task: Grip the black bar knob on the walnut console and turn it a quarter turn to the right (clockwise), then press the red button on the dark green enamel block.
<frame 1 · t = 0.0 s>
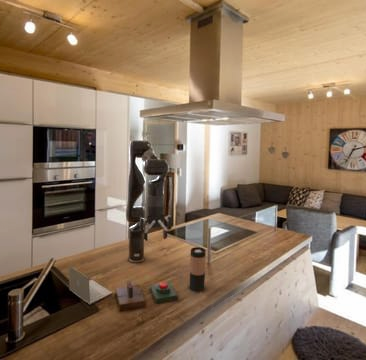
hand: (155, 239, 126), 29 cm above the counter, tool pointing down, fingers open, 8 cm apart
travel mug: (196, 288, 142), on the counter
button block: (163, 294, 135), on the counter
red button: (163, 285, 134), point 4 cm above the counter, slide at 0.1 cm
console: (129, 300, 130), on the counter
grip knob: (129, 289, 129), point 5 cm above the counter, hinge at 0.0°
laptop: (90, 292, 136), on the counter
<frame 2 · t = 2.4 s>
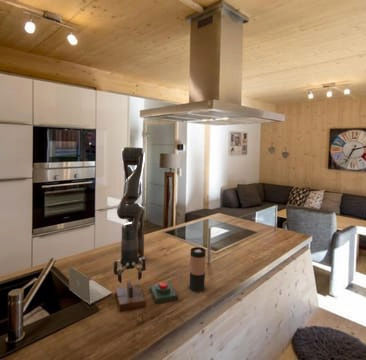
hand: (129, 280, 128), 10 cm above the counter, tool pointing down, fingers open, 8 cm apart
nothing on the counter moved.
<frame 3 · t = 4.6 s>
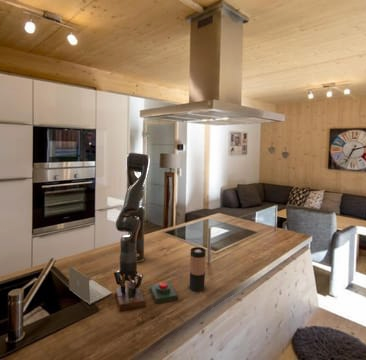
hand: (128, 294, 129), 3 cm above the counter, tool pointing down, fingers open, 4 cm apart
grip knob: (129, 289, 129), point 5 cm above the counter, hinge at -2.3°, touching gripper
everything else where it was.
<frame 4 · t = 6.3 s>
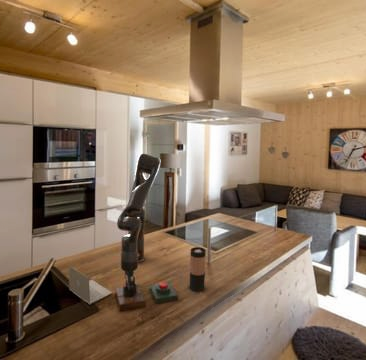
hand: (129, 291, 129), 4 cm above the counter, tool pointing down, fingers open, 8 cm apart
grip knob: (129, 289, 129), point 5 cm above the counter, hinge at -77.0°
everything else where it was.
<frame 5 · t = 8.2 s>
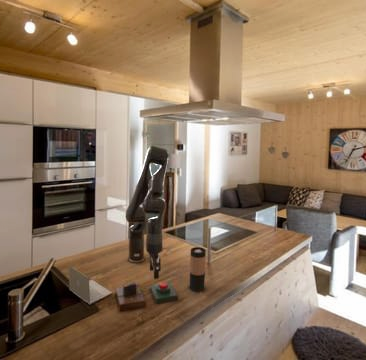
hand: (154, 274, 132), 11 cm above the counter, tool pointing down, fingers open, 8 cm apart
nothing on the counter moved.
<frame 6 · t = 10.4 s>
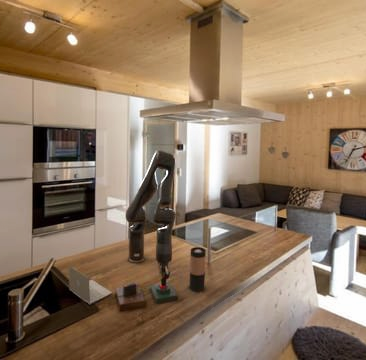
hand: (163, 285, 134), 5 cm above the counter, tool pointing down, fingers closed
red button: (163, 286, 134), point 4 cm above the counter, slide at -0.3 cm, touching gripper
everything else where it was.
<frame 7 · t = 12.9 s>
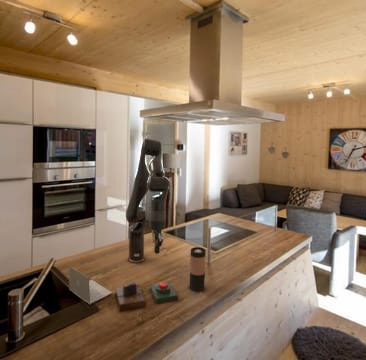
hand: (156, 252, 135), 19 cm above the counter, tool pointing down, fingers closed
red button: (163, 285, 134), point 4 cm above the counter, slide at 0.1 cm
everything else where it was.
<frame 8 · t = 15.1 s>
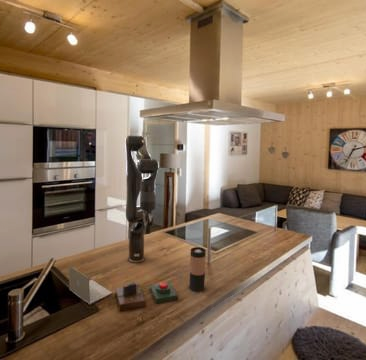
hand: (147, 233, 140), 27 cm above the counter, tool pointing down, fingers closed
nothing on the counter moved.
at the end: grip knob at -77° (first picture: +0°); red button pushed in 1.1 cm at the most during the clip and back out by the end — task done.
